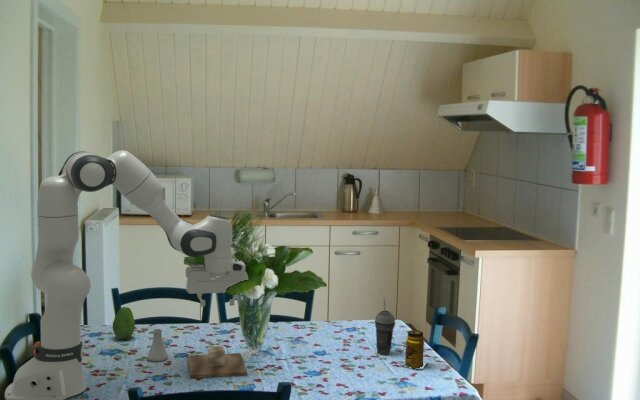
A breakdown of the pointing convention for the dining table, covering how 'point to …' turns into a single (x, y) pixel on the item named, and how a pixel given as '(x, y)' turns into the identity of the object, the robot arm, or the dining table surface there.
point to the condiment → (414, 349)
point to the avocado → (124, 323)
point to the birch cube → (216, 356)
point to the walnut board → (202, 369)
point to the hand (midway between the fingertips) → (217, 305)
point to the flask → (157, 348)
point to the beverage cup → (384, 331)
